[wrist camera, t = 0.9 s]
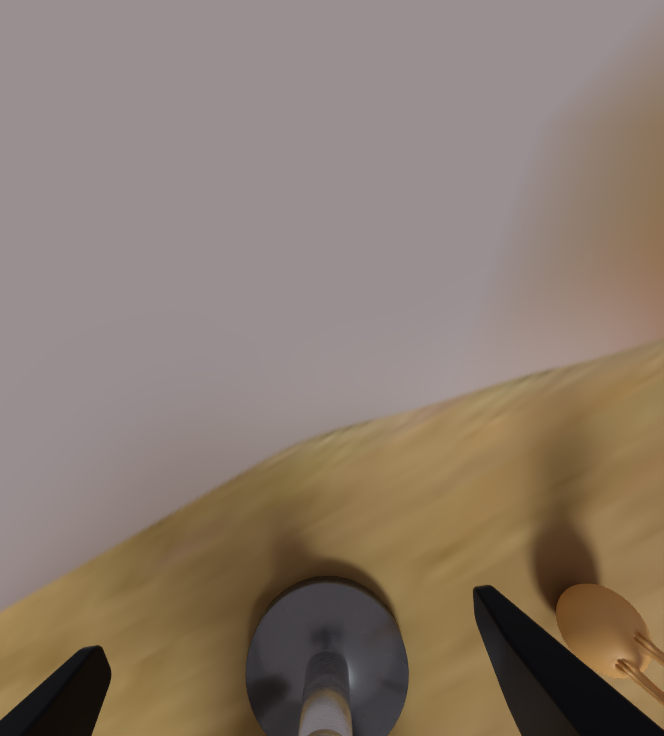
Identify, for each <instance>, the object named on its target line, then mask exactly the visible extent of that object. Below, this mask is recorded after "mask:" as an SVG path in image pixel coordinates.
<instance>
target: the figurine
mask: <svg viewBox="0 0 664 736" xmlns="http://www.w3.org/2000/svg"><path fill="white" fill-rule="evenodd" d="M556 618H557V624H558V627H559V630H560V633H561V635H562V637H563V639H564V641H565V642H566V644H567V645H568V647H569V648H570V649H571V651H572V652H573V653H574V654H575V655H576V656H577V657H578V658H579V659H580V660H581V661H582V662H583V663H585V664H586V665H587V666H589V667H590V668H592V669H593V670H595V671H597V672H599V673H601V674H604V675H606V676H610V677H614V678H630V679H632V680H633V681H635V682H636V683H637V684H638V685H639V686H641V687H642V688H643V689H644V690H645V691H646V692H648V693H649V694H650V695H651V696H652V697H653V698H655V699H656V700H657V701H658V702H659V703H661V704H662V705H663V706H664V692H663V691H661V690H660V689H659V688H658V687H657V686H656V685H655V684H653V683H652V682H651V681H650V680H649V679H648V678H647V677H646V676H645V675H644V674H643V673H642V672H643V671H644V670H645V669H646V668H647V666H648V665H649V663H650V660H651V658H653V659H654V660H656V661H657V662H658V663H660V664H661V665H663V666H664V653H663V652H662V651H661V650H659V649H658V648H657V647H656V646H655V645H654V644H653V643H652V640H651V636H650V633H649V630H648V628H647V626H646V624H645V622H644V620H643V619H642V617H641V616H640V614H639V613H638V612H637V610H636V609H635V608H634V607H633V606H632V605H631V604H630V603H629V602H628V601H627V600H626V599H624V598H623V597H622V596H620V595H619V594H617V593H616V592H614V591H612V590H610V589H608V588H606V587H603V586H600V585H596V584H590V583H582V584H577V585H573V586H571V587H569V588H568V589H566V590H565V591H564V592H563V593H562V595H561V596H560V598H559V600H558V603H557V607H556Z"/></svg>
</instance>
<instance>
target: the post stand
mask: <svg viewBox="0 0 664 736" xmlns="http://www.w3.org/2000/svg"><path fill="white" fill-rule="evenodd" d="M408 676H409V670H408V660H407V655H406V650H405V646H404V643H403V640H402V636H401V633H400V631H399V628H398V625H397V623H396V621H395V619H394V617H393V615H392V614H391V612H390V611H389V609H388V608H387V606H386V605H385V604H384V603H383V602H382V600H381V599H380V598H379V597H377V596H376V595H375V594H374V593H373V592H372V591H370V590H369V589H367V588H366V587H364V586H362V585H360V584H358V583H356V582H354V581H351V580H348V579H345V578H340V577H332V576H323V577H314V578H310V579H306V580H303V581H301V582H298V583H296V584H294V585H292V586H291V587H289V588H287V589H286V590H285V591H283V592H282V593H281V594H280V595H278V596H277V597H276V598H275V599H274V600H273V601H272V603H271V604H270V605H269V606H268V607H267V609H266V610H265V612H264V614H263V615H262V617H261V619H260V621H259V623H258V625H257V627H256V630H255V633H254V636H253V638H252V641H251V645H250V648H249V651H248V656H247V662H246V687H247V693H248V698H249V701H250V704H251V708H252V710H253V712H254V715H255V717H256V719H257V721H258V722H259V724H260V726H261V728H262V729H263V730H264V732H265V733H266V734H267V735H268V736H387V735H388V734H389V732H390V731H391V730H392V728H393V727H394V725H395V723H396V722H397V720H398V718H399V716H400V714H401V711H402V709H403V706H404V703H405V699H406V695H407V689H408Z"/></svg>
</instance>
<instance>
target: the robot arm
mask: <svg viewBox="0 0 664 736" xmlns="http://www.w3.org/2000/svg"><path fill="white" fill-rule="evenodd" d="M473 600H474V614H475V619H476V623H477V626H478V629H479V631H480V634H481V637H482V639H483V642H484V645H485V647H486V650H487V652H488V655H489V658H490V660H491V663H492V666H493V668H494V671H495V674H496V676H497V679H498V682H499V684H500V687H501V690H502V692H503V695H504V697H505V700H506V702H507V705H508V707H509V710H510V712H511V714H512V716H513V718H514V721H515V723H516V725H517V727H518V729H519V731H520V733H521V735H522V736H664V730H663V729H662V728H661V727H660V726H658V725H657V724H656V723H655V722H654V721H652V720H651V719H650V718H649V717H648V716H646V715H645V714H644V713H643V712H642V711H640V710H639V709H638V708H637V707H636V706H634V705H633V704H632V703H631V702H630V701H629V700H627V699H626V698H625V697H624V696H623V695H621V694H620V693H619V692H618V691H617V690H615V689H614V688H613V687H612V686H611V685H609V684H608V683H607V682H606V681H605V680H604V679H602V678H601V677H600V676H599V675H598V674H596V673H595V672H594V671H593V670H592V669H590V668H589V667H588V666H587V665H586V664H584V663H583V662H582V661H581V660H580V659H579V658H577V657H576V656H575V655H574V654H573V653H571V652H570V651H569V650H568V649H567V648H565V647H564V646H563V645H562V644H561V643H559V642H558V641H557V640H556V639H555V638H554V637H552V636H551V635H550V634H549V633H548V632H546V631H545V630H544V629H543V628H542V627H540V626H539V625H538V624H537V623H536V622H534V621H533V620H532V619H531V618H530V617H529V616H527V615H526V614H525V613H524V612H523V611H521V610H520V609H519V608H518V607H517V606H515V605H514V604H513V603H512V602H511V601H509V600H508V599H507V598H506V597H505V596H503V595H502V594H501V593H500V592H499V591H498V590H496V589H495V588H494V587H493V586H491V585H483V586H476V587H474V589H473ZM110 681H111V668H110V666H109V663H108V660H107V658H106V655H105V653H104V650H103V648H102V647H101V646H99V645H96V646H90V647H84V648H82V649H80V650H79V651H77V652H76V653H75V654H74V655H73V656H72V657H71V658H69V659H68V660H67V661H66V662H65V663H64V664H63V665H62V666H61V667H59V668H58V669H57V670H56V671H55V672H54V673H53V674H52V675H50V676H49V677H48V678H47V679H46V680H45V681H44V682H43V683H42V684H40V685H39V686H38V687H37V688H36V689H35V690H34V691H33V692H31V693H30V694H29V695H28V696H27V697H26V698H25V699H24V700H22V701H21V702H20V703H19V704H18V705H17V706H16V707H15V708H14V709H12V710H11V711H10V712H9V713H8V714H7V715H6V716H5V717H3V718H2V719H1V720H0V736H91V735H92V732H93V730H94V727H95V724H96V721H97V718H98V715H99V713H100V710H101V707H102V704H103V701H104V699H105V696H106V693H107V690H108V687H109V684H110Z"/></svg>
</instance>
